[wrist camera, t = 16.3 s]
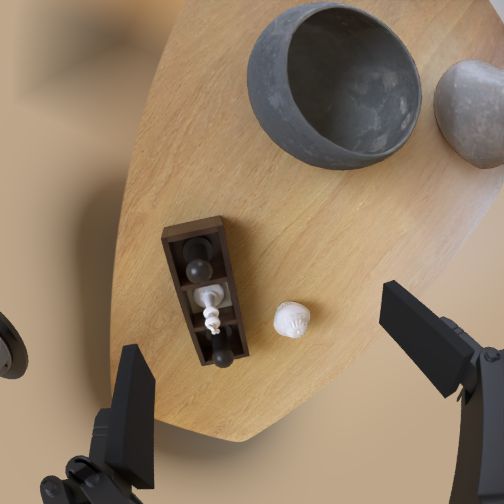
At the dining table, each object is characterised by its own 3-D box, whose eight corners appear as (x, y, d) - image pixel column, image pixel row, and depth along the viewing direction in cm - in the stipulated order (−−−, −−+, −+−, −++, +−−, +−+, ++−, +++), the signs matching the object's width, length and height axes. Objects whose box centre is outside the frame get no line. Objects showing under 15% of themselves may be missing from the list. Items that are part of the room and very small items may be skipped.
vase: (407, 53, 35) (525, 39, 13) (467, 73, 38) (563, 78, 16) (415, 159, 43) (534, 195, 21) (472, 160, 46) (566, 191, 24)
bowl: (320, 188, 42) (377, 215, 29) (204, 106, 34) (212, 87, 21) (386, 92, 38) (453, 87, 24) (287, 8, 30) (331, -38, 17)
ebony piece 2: (208, 341, 48) (213, 377, 40) (201, 321, 46) (205, 357, 38) (233, 335, 48) (242, 371, 40) (228, 315, 47) (236, 350, 39)
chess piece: (205, 272, 43) (210, 310, 34) (230, 289, 45) (241, 328, 36) (185, 295, 44) (186, 336, 34) (211, 311, 45) (217, 353, 36)
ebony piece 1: (186, 265, 42) (186, 297, 34) (179, 238, 40) (176, 264, 32) (215, 259, 42) (222, 289, 35) (209, 231, 41) (214, 256, 33)
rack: (200, 348, 49) (201, 366, 45) (163, 227, 40) (160, 238, 36) (244, 338, 50) (249, 356, 46) (219, 215, 41) (223, 224, 37)
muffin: (298, 287, 48) (313, 310, 42) (306, 314, 51) (321, 338, 44) (263, 302, 48) (275, 327, 41) (274, 328, 50) (285, 354, 44)
